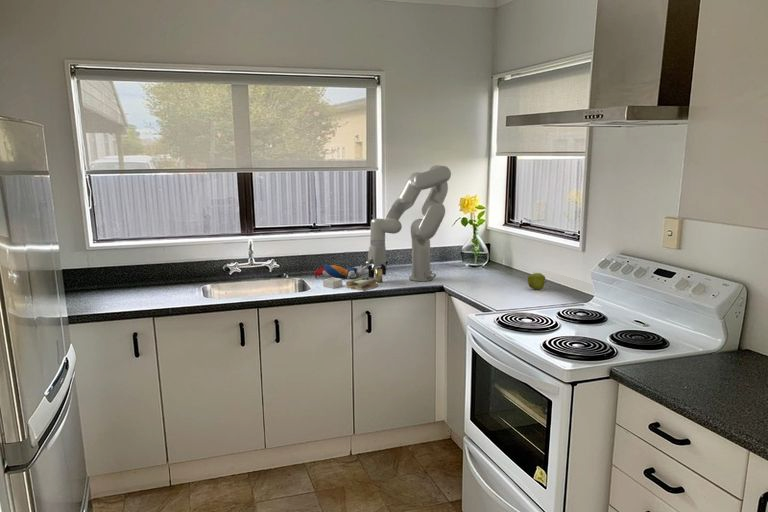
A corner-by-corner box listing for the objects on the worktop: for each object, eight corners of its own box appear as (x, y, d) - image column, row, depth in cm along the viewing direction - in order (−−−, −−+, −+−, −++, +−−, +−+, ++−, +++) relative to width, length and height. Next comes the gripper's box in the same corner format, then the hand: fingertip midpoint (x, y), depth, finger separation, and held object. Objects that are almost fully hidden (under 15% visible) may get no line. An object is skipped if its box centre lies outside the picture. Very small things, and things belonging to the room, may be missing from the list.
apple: (546, 291, 266) (547, 275, 265) (526, 290, 269) (527, 274, 267) (546, 288, 273) (547, 271, 272) (527, 287, 276) (528, 271, 274)
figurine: (310, 286, 291) (367, 284, 286) (308, 270, 290) (365, 268, 285) (324, 275, 317) (376, 273, 312) (322, 260, 316) (375, 258, 310)
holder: (342, 285, 284) (342, 279, 283) (333, 288, 278) (333, 281, 278) (332, 284, 288) (332, 277, 287) (323, 286, 283) (323, 279, 282)
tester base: (378, 285, 282) (378, 279, 282) (362, 290, 273) (362, 284, 272) (362, 283, 289) (361, 277, 288) (346, 287, 279) (346, 281, 279)
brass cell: (383, 281, 291) (383, 267, 290) (379, 283, 288) (379, 268, 287) (378, 281, 293) (378, 266, 292) (374, 282, 290) (373, 267, 289)
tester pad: (368, 281, 282) (368, 280, 282) (360, 283, 277) (360, 282, 277) (361, 280, 285) (361, 279, 284) (353, 282, 280) (353, 281, 280)
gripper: (382, 240, 296) (381, 272, 299) (361, 244, 283) (360, 277, 285) (393, 242, 292) (393, 274, 295) (372, 245, 278) (372, 279, 281)
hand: (377, 276), depth 290 cm, fingers open, 9 cm apart
